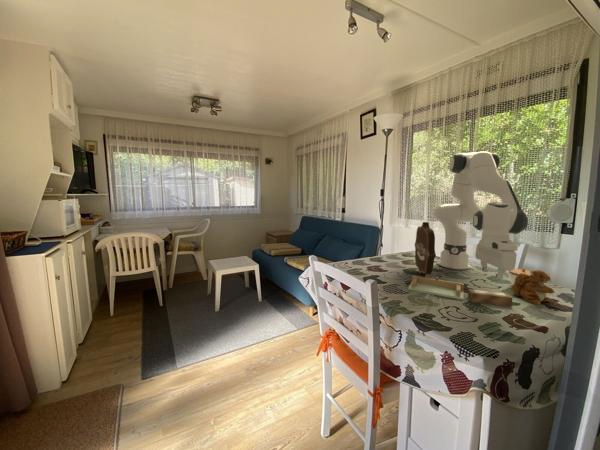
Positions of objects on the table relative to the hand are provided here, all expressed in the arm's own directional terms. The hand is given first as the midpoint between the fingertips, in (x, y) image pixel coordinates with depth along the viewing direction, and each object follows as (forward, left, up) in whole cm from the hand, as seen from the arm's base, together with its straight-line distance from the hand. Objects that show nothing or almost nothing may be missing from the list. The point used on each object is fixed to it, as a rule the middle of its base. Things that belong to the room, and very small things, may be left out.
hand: (491, 275), depth 104 cm
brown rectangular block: (0, 0, -12) cm, 12 cm away
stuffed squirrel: (-14, +15, -12) cm, 24 cm away
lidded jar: (-29, +15, -12) cm, 35 cm away
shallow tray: (-1, -20, -12) cm, 23 cm away
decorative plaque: (-22, -28, -12) cm, 38 cm away
